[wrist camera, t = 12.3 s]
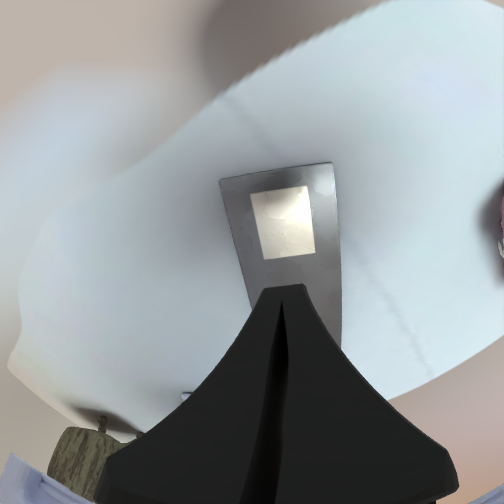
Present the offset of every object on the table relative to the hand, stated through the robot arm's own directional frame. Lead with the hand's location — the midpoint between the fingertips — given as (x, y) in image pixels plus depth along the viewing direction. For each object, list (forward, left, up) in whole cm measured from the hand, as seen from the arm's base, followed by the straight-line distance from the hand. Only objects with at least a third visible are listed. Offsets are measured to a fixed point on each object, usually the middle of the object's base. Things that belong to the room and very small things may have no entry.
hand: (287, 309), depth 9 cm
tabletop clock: (-31, +33, -8) cm, 46 cm away
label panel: (-5, 0, -7) cm, 9 cm away
